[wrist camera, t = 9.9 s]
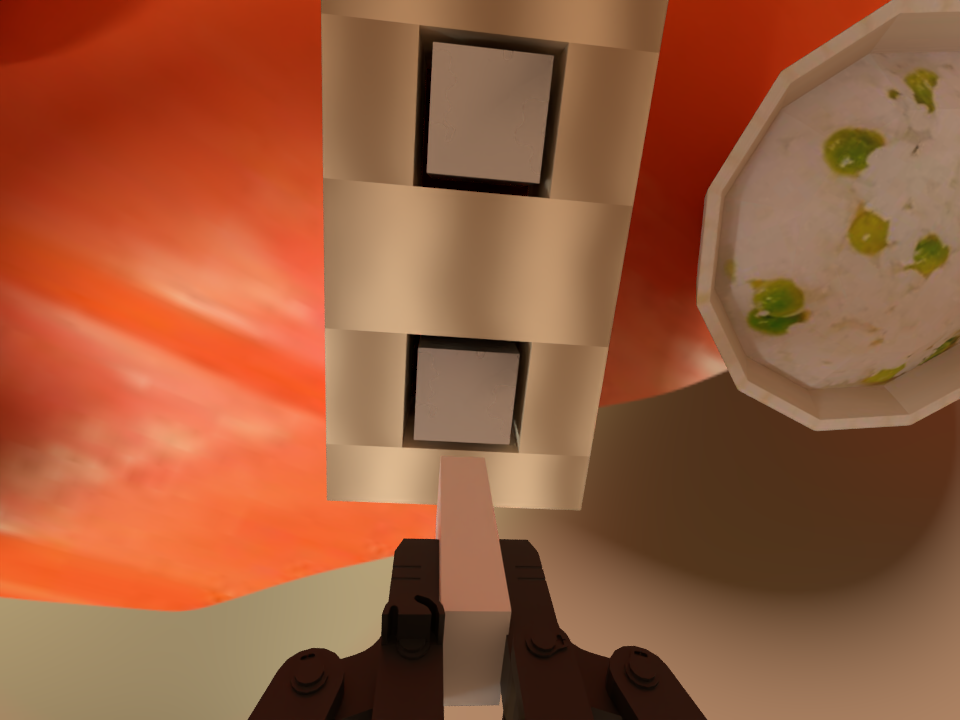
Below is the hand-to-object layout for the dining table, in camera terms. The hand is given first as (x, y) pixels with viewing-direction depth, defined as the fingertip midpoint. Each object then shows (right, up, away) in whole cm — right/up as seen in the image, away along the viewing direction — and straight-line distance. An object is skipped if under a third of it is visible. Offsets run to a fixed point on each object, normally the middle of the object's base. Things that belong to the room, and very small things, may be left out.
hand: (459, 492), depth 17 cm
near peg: (+1, +17, +10) cm, 20 cm away
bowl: (+19, +13, +14) cm, 27 cm away
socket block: (0, +11, +13) cm, 17 cm away
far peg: (0, +5, +14) cm, 15 cm away
